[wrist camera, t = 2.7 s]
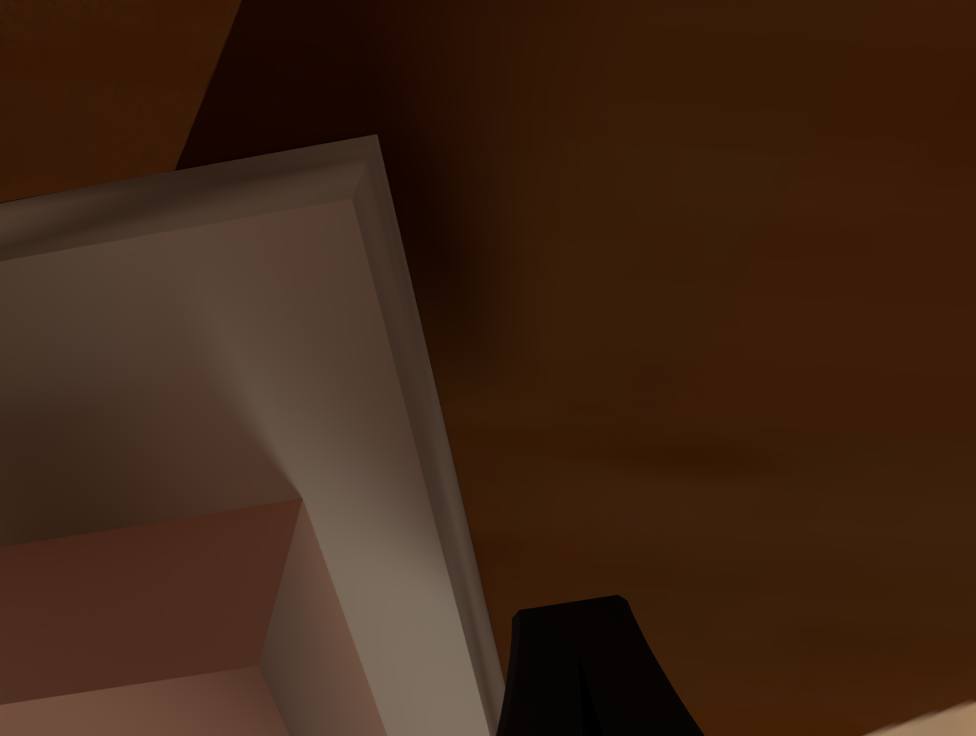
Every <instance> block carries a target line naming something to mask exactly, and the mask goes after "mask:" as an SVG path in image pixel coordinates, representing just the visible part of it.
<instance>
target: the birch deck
mask: <svg viewBox="0 0 976 736" xmlns="http://www.w3.org/2000/svg"><path fill="white" fill-rule="evenodd" d="M297 499H303V500H304V503H305V506H306V509H307V512H308V514H309V517H310V520H311V523H312V526H313V528H314V531H315V534H316V537H317V540H318V542H319V545H320V548H321V551H322V554H323V556H324V559H325V562H326V565H327V568H328V571H329V573H330V576H331V579H332V582H333V585H334V587H335V590H336V593H337V596H338V599H339V601H340V604H341V607H342V610H343V613H344V616H345V618H346V621H347V624H348V627H349V630H350V632H351V635H352V638H353V641H354V644H355V646H356V649H357V652H358V655H359V658H360V660H361V663H362V666H363V669H364V672H365V675H366V677H367V680H368V683H369V686H370V689H371V691H372V694H373V697H374V700H375V703H376V705H377V708H378V711H379V714H380V717H381V719H382V722H383V725H384V728H385V731H386V734H387V736H496V733H497V729H498V724H499V720H500V715H501V710H502V704H503V698H504V693H505V684H504V680H503V675H502V671H501V667H500V662H499V658H498V654H497V649H496V645H495V641H494V636H493V632H492V628H491V624H490V619H489V615H488V611H487V606H486V602H485V598H484V593H483V589H482V585H481V580H480V576H479V572H478V567H477V563H476V559H475V554H474V550H473V546H472V541H471V537H470V533H469V529H468V524H467V520H466V516H465V511H464V507H463V503H462V498H461V494H460V490H459V485H458V481H457V477H456V472H455V468H454V464H453V459H452V455H451V451H450V446H449V442H448V438H447V434H446V429H445V425H444V421H443V416H442V412H441V408H440V403H439V399H438V395H437V390H436V386H435V382H434V377H433V373H432V369H431V364H430V360H429V356H428V352H427V347H426V343H425V339H424V334H423V330H422V326H421V321H420V317H419V313H418V308H417V304H416V300H415V295H414V291H413V287H412V282H411V278H410V274H409V269H408V265H407V261H406V257H405V252H404V248H403V244H402V239H401V235H400V231H399V226H398V222H397V218H396V213H395V209H394V205H393V200H392V196H391V192H390V187H389V183H388V179H387V174H386V170H385V166H384V162H383V157H382V153H381V149H380V144H379V140H378V136H377V134H375V135H370V136H364V137H359V138H353V139H348V140H342V141H337V142H331V143H326V144H320V145H315V146H309V147H304V148H298V149H293V150H287V151H282V152H276V153H271V154H265V155H260V156H254V157H249V158H243V159H238V160H232V161H227V162H221V163H216V164H210V165H204V166H199V167H193V168H188V169H182V170H177V171H171V172H166V173H160V174H155V175H149V176H144V177H138V178H133V179H127V180H122V181H116V182H111V183H105V184H100V185H94V186H89V187H83V188H78V189H72V190H67V191H61V192H56V193H50V194H45V195H39V196H34V197H28V198H23V199H17V200H12V201H6V202H1V203H0V547H6V546H12V545H18V544H25V543H31V542H37V541H43V540H49V539H56V538H62V537H68V536H74V535H80V534H86V533H93V532H99V531H105V530H111V529H117V528H124V527H130V526H136V525H142V524H148V523H155V522H161V521H167V520H173V519H179V518H185V517H192V516H198V515H204V514H210V513H216V512H223V511H229V510H235V509H241V508H247V507H254V506H260V505H266V504H272V503H278V502H285V501H291V500H297Z"/></svg>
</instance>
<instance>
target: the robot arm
mask: <svg viewBox="0 0 976 736" xmlns="http://www.w3.org/2000/svg"><path fill="white" fill-rule="evenodd" d="M496 736H704V734H703V733H702V731H701V730H700V728H699V727H698V725H697V724H696V722H695V721H694V719H693V718H692V716H691V715H690V714H689V712H688V711H687V709H686V707H685V706H684V704H683V703H682V701H681V700H680V698H679V696H678V695H677V693H676V692H675V690H674V689H673V687H672V685H671V684H670V682H669V680H668V678H667V677H666V675H665V673H664V672H663V670H662V668H661V667H660V665H659V663H658V662H657V660H656V658H655V656H654V655H653V653H652V651H651V649H650V647H649V646H648V644H647V642H646V640H645V638H644V636H643V634H642V632H641V630H640V628H639V626H638V624H637V622H636V620H635V618H634V616H633V613H632V611H631V609H630V606H629V604H628V601H627V600H625V599H624V598H622V597H620V596H619V595H614V596H607V597H601V598H594V599H588V600H582V601H575V602H569V603H562V604H556V605H549V606H543V607H536V608H530V609H524V610H519V611H518V613H517V614H516V615H515V616H514V617H513V618H512V639H511V650H510V660H509V668H508V675H507V681H506V687H505V693H504V698H503V704H502V710H501V715H500V720H499V724H498V729H497V733H496Z"/></svg>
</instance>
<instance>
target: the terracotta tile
mask: <svg viewBox="0 0 976 736" xmlns="http://www.w3.org/2000/svg"><path fill="white" fill-rule="evenodd" d="M0 736H387V734H386V731H385V728H384V725H383V722H382V719H381V717H380V714H379V711H378V708H377V705H376V703H375V700H374V697H373V694H372V691H371V689H370V686H369V683H368V680H367V677H366V675H365V672H364V669H363V666H362V663H361V660H360V658H359V655H358V652H357V649H356V646H355V644H354V641H353V638H352V635H351V632H350V630H349V627H348V624H347V621H346V618H345V616H344V613H343V610H342V607H341V604H340V601H339V599H338V596H337V593H336V590H335V587H334V585H333V582H332V579H331V576H330V573H329V571H328V568H327V565H326V562H325V559H324V556H323V554H322V551H321V548H320V545H319V542H318V540H317V537H316V534H315V531H314V528H313V526H312V523H311V520H310V517H309V514H308V512H307V509H306V506H305V503H304V500H303V499H297V500H291V501H285V502H278V503H272V504H266V505H260V506H254V507H247V508H241V509H235V510H229V511H223V512H216V513H210V514H204V515H198V516H192V517H185V518H179V519H173V520H167V521H161V522H155V523H148V524H142V525H136V526H130V527H124V528H117V529H111V530H105V531H99V532H93V533H86V534H80V535H74V536H68V537H62V538H56V539H49V540H43V541H37V542H31V543H25V544H18V545H12V546H6V547H0Z"/></svg>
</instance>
